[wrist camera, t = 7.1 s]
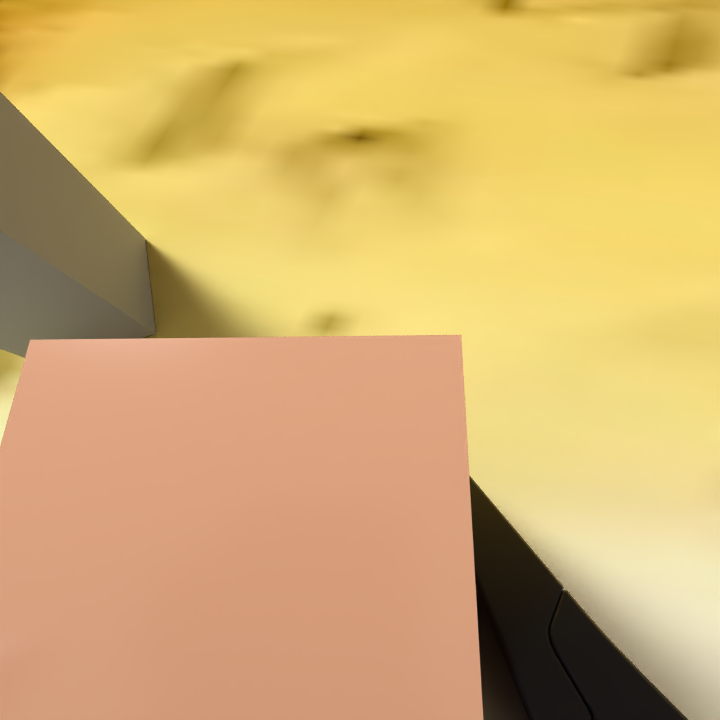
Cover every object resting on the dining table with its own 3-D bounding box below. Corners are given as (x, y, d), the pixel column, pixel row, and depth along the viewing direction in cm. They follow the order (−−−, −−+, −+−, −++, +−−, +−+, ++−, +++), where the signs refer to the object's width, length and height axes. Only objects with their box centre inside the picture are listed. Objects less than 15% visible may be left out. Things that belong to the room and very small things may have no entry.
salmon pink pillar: (417, 443, 15) (461, 335, 5) (421, 614, 14) (499, 991, 3) (271, 442, 16) (29, 339, 5) (256, 606, 14) (-131, 916, 4)
